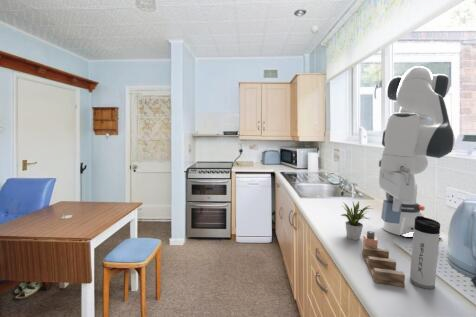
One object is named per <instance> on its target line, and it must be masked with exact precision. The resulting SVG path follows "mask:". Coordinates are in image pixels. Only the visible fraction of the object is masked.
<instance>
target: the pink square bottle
mask: <svg viewBox="0 0 476 317" xmlns="http://www.w3.org/2000/svg"><path fill="white" fill-rule="evenodd" d="M375 234H376V232H374V231H369V230H367V231H366V234H364V235H363V242H362V247H363V246H364V247H372V248H378V242H379V241H378V238H377V237H376V236H375Z"/></svg>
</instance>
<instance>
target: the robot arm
mask: <svg viewBox="0 0 476 317" xmlns="http://www.w3.org/2000/svg"><path fill="white" fill-rule="evenodd" d="M450 88H451V80H450V79H449V76H448V75H447V74H443V73H437V74H432V71H431V70H430V69H429V68H427V67H425V66H414V67H411V68H409V69H408V70H407V71H406V72H405V73H404V74H403V75H402V76H401V75H397V76H393V77H391V79H390V80H389V81H388V83H387V85H386V88H385V91H386V95H387V98H388V100H391V101H396V103H397V104H398V106H399V107H400V108H399V111H397V112H392V113H391V114H389V117H388V119H387V123H386V127H385V129H384V130H383V132H382V141H381V145H382V146H383V147H384V149H383V151H382V153H381V154H382V155H381V158H380V160H379V161H378V167H379V178H378V179H379V180H378V182H379V188H380V189H382V190H383V191H384V192H385V200H388V196H389V195H392V196H393V200H394V201H393V204H392V205H391V209H392V210H393V211H395V212H399V208H400V205H402V208H401V215H400V222H399V224H396V223H389V222H384V221H383V225H382V226H381V227H382V229H383V230H384V231H386V232H388V233H390V234H394V235H397V236H400V235H403V234H406V233H409V232H414V226H415V225H414V224H415V218H416V217H417V216H423V217H425V218H428V216H426V215H425V214H424V213H422V212H421V211H425V206H424V205H422V204H419V203H417V195H418V186H417V182H416V178H415V175H417V174H421V173H422V172H424V171H425V170H426V169H427V167H428V163H429V161H428V158H427V157H430V158H437V159H441V158H443V157H445V156H446V155H449V154H450V153H452V151H453V149H454V147H455V142H456V138H455V135H454V130H453V129H452V125H451V123H450V119H449V114H448V110H447V106H446V103H445V99H444V98H446V96H447V94H449V91H450ZM428 117H429V118H430V119H431V122H432V123H431V124H429V125H428V124H427V119H428Z"/></svg>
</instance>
